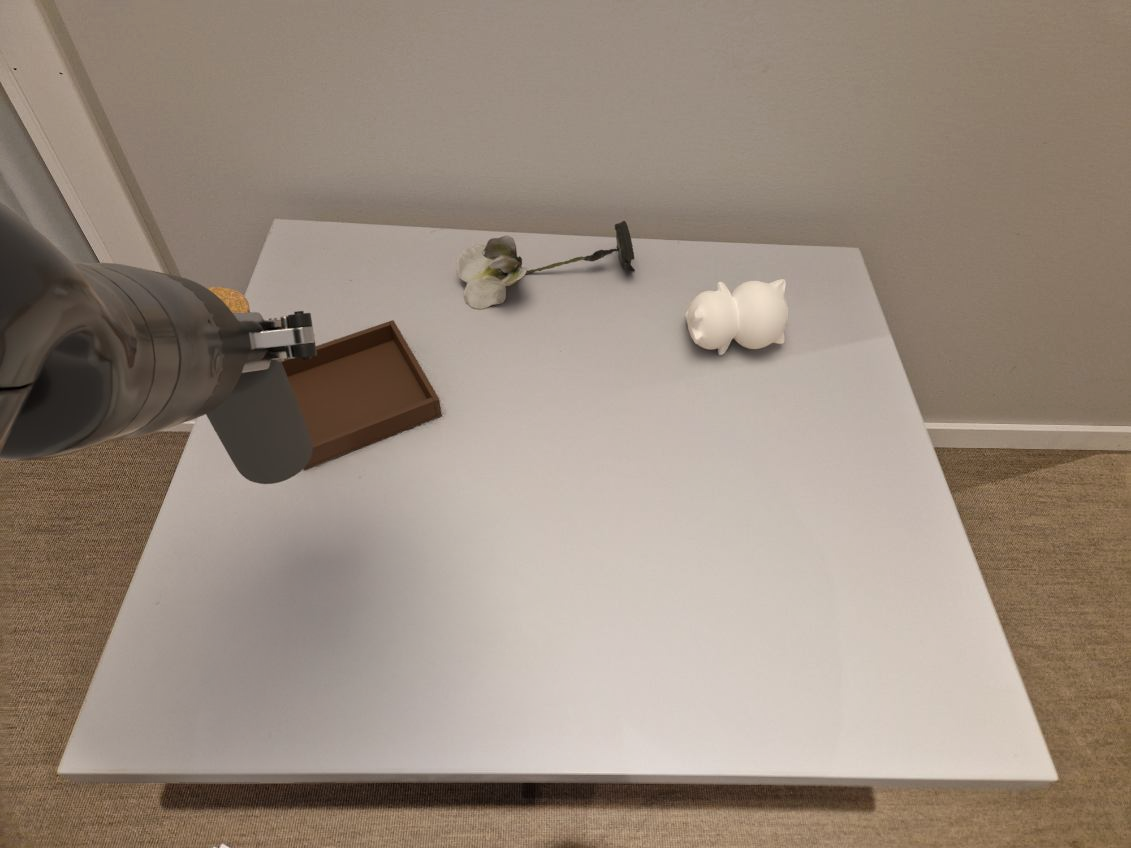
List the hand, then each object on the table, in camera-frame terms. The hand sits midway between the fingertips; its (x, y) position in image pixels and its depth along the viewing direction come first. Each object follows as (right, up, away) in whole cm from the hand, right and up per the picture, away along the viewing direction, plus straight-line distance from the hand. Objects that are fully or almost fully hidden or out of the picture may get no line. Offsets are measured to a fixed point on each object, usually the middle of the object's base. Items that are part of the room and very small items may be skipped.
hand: (234, 345), depth 49 cm
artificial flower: (+20, +12, +43) cm, 49 cm away
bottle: (0, -8, +7) cm, 11 cm away
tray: (-1, -3, +31) cm, 31 cm away
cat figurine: (+42, +5, +39) cm, 58 cm away
